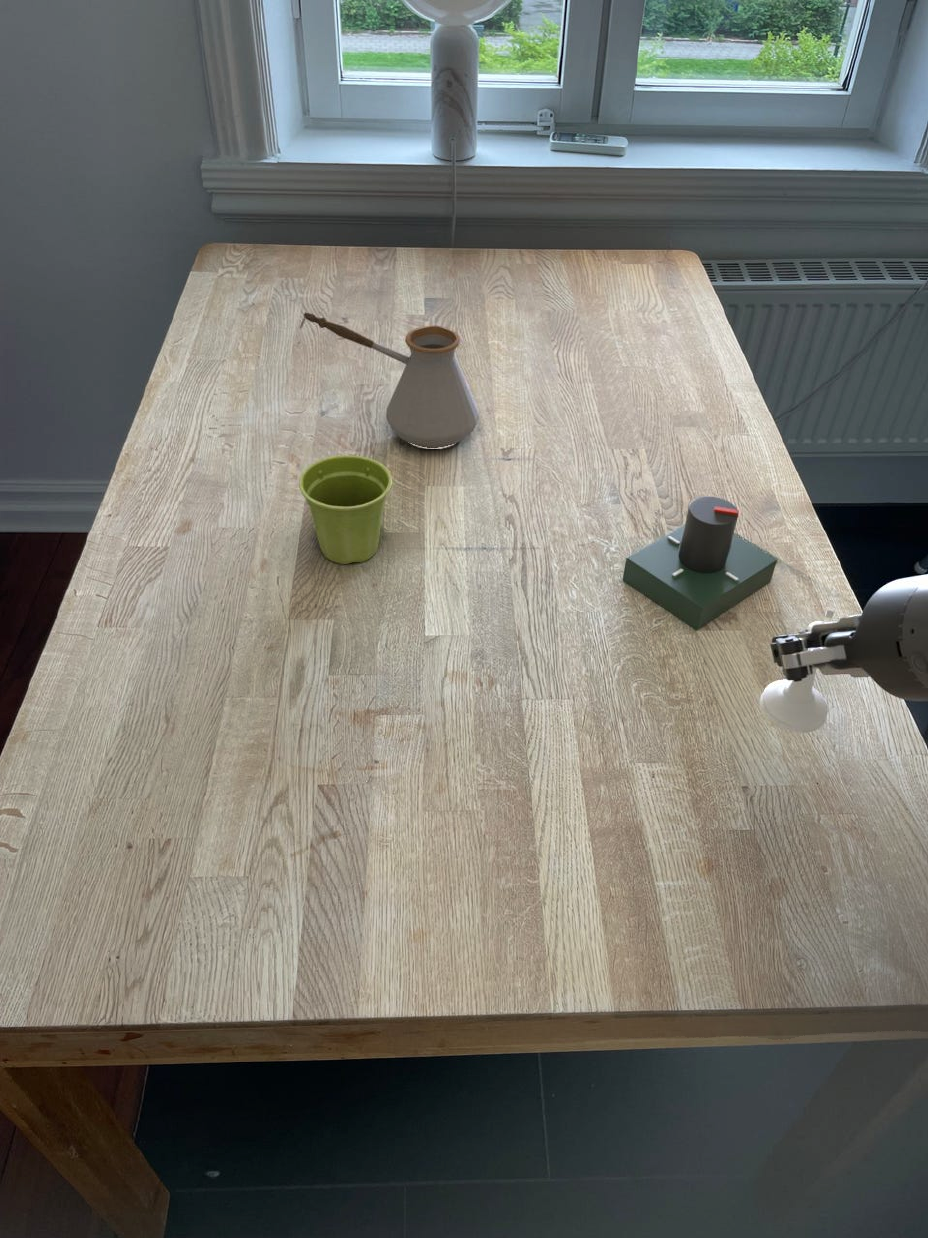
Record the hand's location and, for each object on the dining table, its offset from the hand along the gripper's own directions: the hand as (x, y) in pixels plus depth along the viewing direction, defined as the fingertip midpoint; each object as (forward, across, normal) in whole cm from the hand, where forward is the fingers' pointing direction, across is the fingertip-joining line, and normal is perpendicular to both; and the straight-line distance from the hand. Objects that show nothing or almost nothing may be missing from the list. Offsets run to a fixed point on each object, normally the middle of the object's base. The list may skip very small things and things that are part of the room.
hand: (793, 647), depth 72 cm
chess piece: (+2, 0, +5) cm, 5 cm away
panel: (+29, -8, -7) cm, 30 cm away
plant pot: (+39, +25, -18) cm, 50 cm away
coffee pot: (+55, +15, -33) cm, 65 cm away
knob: (+26, -8, -9) cm, 29 cm away
